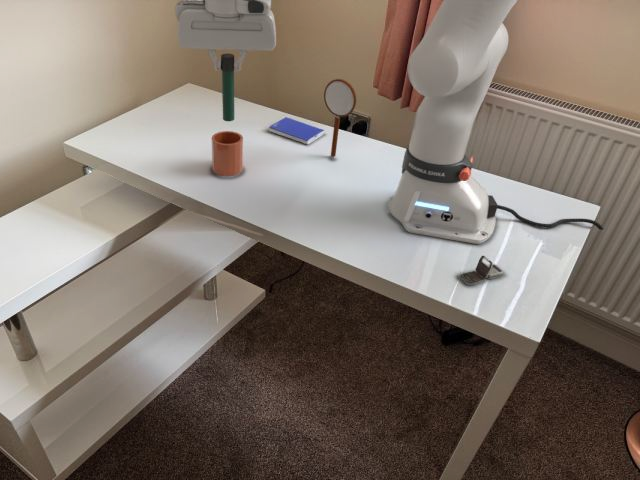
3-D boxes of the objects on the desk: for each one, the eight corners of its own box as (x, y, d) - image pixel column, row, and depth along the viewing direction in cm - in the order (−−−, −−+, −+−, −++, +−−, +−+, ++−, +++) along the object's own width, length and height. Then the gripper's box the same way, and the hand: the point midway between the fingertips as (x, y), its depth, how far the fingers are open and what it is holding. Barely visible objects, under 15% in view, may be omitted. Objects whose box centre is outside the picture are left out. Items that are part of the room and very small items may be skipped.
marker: (237, 118, 130) (236, 54, 121) (231, 122, 128) (230, 58, 119) (226, 115, 131) (225, 52, 122) (220, 120, 129) (218, 56, 120)
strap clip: (493, 266, 112) (499, 248, 109) (504, 275, 110) (511, 257, 107) (458, 277, 109) (463, 259, 106) (468, 286, 107) (474, 268, 104)
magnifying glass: (349, 163, 142) (360, 83, 130) (345, 166, 141) (356, 85, 128) (320, 152, 147) (328, 73, 134) (316, 154, 146) (324, 75, 133)
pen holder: (247, 167, 140) (248, 135, 134) (233, 181, 135) (233, 147, 129) (222, 160, 142) (221, 128, 137) (207, 173, 137) (205, 140, 132)
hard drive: (269, 126, 154) (307, 139, 149) (286, 116, 159) (324, 129, 154) (268, 131, 155) (307, 145, 150) (286, 121, 160) (323, 134, 155)
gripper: (172, 2, 112) (177, 73, 121) (277, 5, 111) (274, 76, 120) (176, -6, 117) (181, 63, 125) (277, -4, 116) (275, 66, 125)
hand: (228, 69), depth 123 cm, fingers closed on marker, 3 cm apart
